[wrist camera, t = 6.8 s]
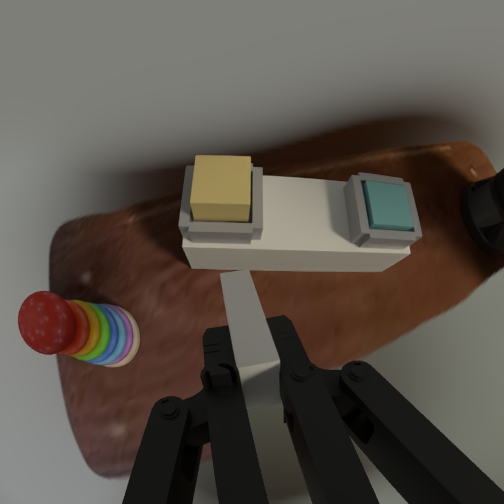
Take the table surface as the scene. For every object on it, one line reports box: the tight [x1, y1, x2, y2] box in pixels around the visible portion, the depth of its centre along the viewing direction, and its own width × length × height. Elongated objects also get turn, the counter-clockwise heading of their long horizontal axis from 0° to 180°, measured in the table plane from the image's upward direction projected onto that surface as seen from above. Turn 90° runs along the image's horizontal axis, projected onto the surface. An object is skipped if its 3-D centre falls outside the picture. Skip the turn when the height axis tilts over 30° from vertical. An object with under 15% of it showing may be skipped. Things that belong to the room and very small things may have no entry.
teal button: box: [362, 181, 414, 231], centre depth 31 cm, size 5×5×4 cm
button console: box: [179, 163, 422, 272], centre depth 35 cm, size 26×9×11 cm, turn 90°
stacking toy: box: [18, 291, 140, 367], centre depth 25 cm, size 8×8×19 cm
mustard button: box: [190, 155, 251, 222], centre depth 28 cm, size 5×5×4 cm
